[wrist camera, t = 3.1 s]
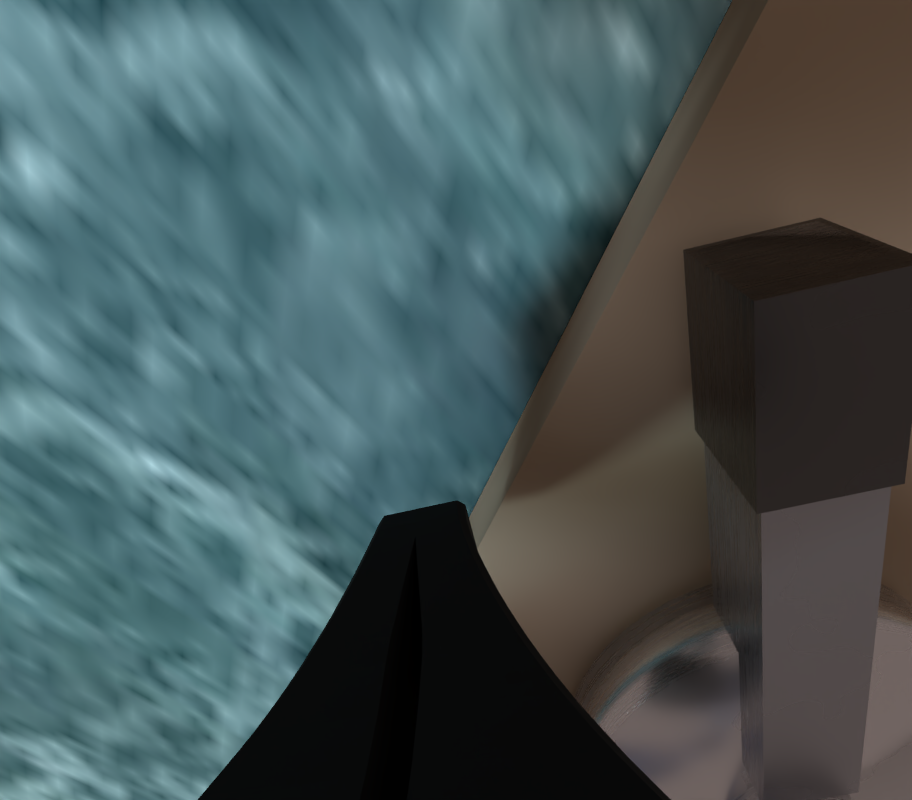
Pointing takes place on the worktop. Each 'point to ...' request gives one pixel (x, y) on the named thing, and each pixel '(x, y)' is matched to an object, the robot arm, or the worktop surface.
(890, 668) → the dial
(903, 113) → the dial board
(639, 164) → the worktop surface
